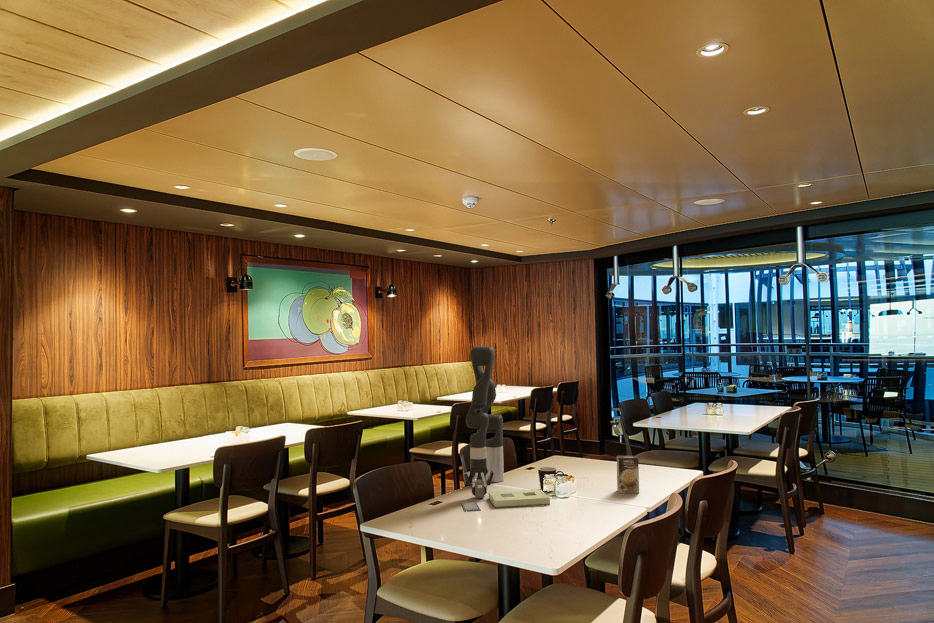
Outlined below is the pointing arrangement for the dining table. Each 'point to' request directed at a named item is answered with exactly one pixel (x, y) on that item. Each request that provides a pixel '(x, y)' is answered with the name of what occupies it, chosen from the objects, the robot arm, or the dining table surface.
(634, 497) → the dining table surface
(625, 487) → the coffee box
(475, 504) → the phone
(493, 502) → the outlet plate
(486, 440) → the robot arm
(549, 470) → the coffee mug
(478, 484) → the block
